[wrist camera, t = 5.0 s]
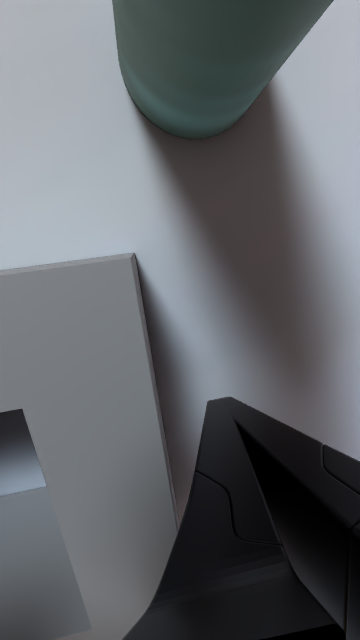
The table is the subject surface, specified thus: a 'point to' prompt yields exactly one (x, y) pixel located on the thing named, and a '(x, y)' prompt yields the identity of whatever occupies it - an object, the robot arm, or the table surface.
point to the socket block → (82, 453)
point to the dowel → (205, 56)
